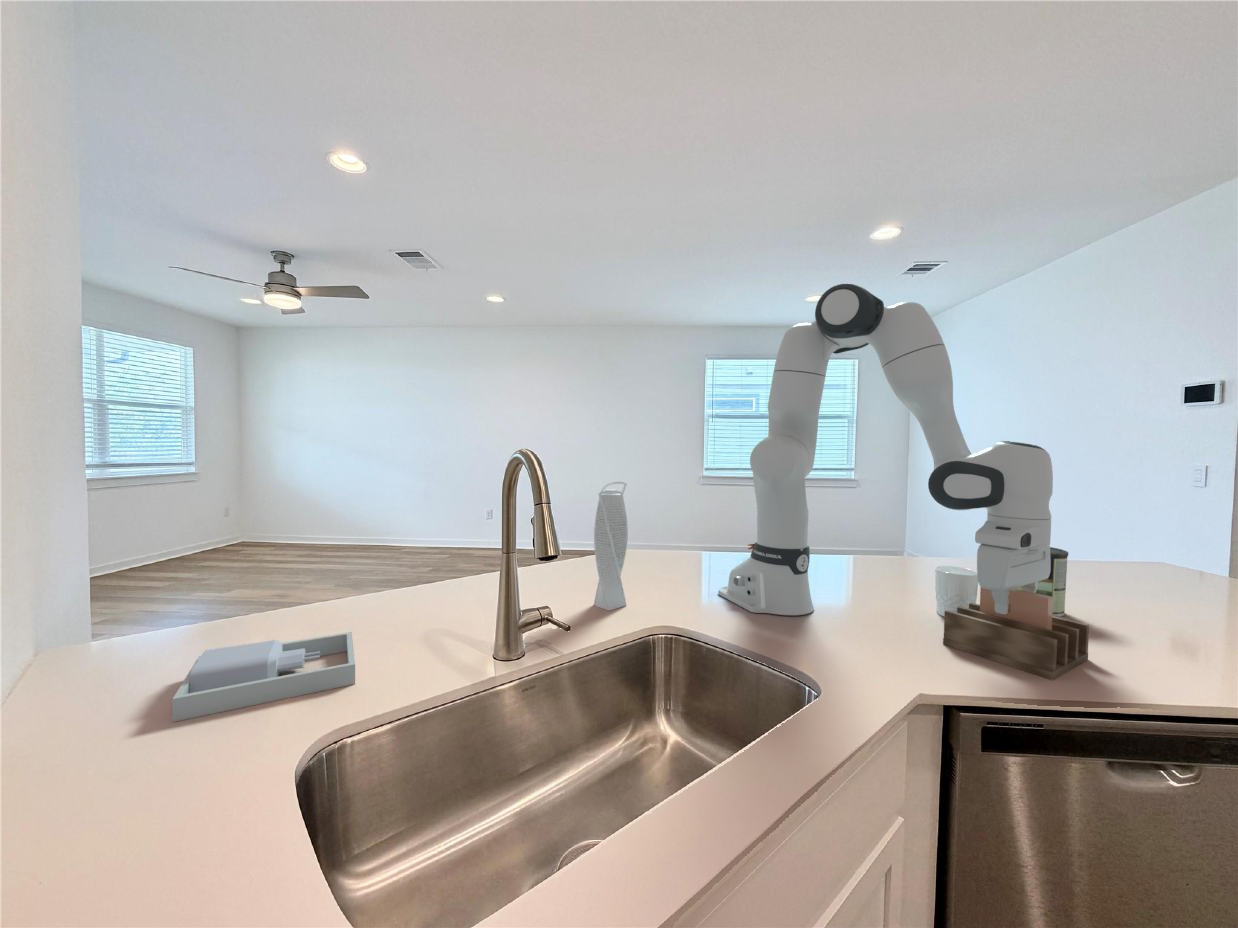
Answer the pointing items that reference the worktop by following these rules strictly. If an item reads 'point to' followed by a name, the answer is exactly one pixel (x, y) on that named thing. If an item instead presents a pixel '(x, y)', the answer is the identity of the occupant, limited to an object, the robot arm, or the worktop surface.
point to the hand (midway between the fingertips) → (1014, 608)
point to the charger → (244, 664)
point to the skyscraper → (610, 547)
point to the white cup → (954, 588)
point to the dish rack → (1018, 641)
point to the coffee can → (1055, 581)
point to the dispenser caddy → (271, 682)
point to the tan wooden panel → (1022, 607)
